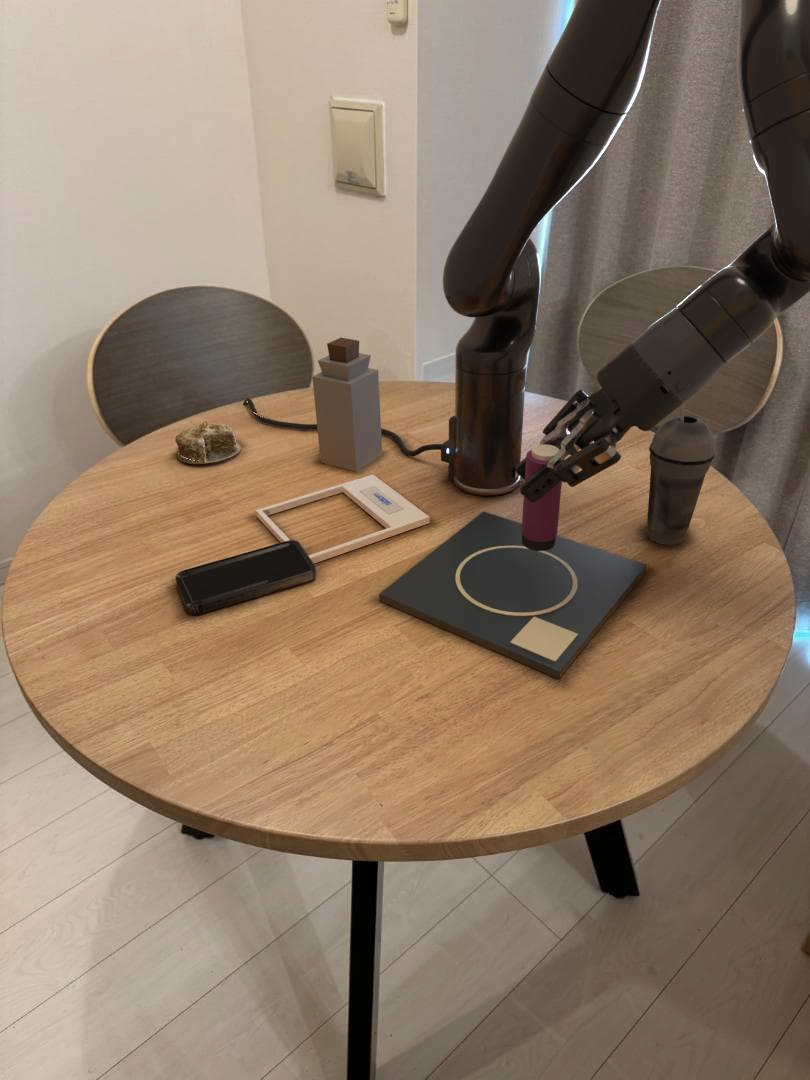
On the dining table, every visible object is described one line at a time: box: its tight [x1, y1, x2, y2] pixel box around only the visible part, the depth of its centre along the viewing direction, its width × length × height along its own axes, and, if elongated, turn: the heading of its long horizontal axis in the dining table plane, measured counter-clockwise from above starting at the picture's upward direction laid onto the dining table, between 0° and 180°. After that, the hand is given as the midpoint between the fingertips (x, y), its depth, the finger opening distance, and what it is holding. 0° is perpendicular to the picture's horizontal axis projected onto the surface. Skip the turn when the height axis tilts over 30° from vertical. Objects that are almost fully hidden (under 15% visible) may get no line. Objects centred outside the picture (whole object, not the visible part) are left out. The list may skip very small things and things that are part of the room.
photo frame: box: [255, 474, 431, 564], centre depth 97 cm, size 15×1×18 cm
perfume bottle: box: [311, 337, 383, 473], centre depth 108 cm, size 7×7×18 cm
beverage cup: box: [646, 401, 715, 546], centre depth 86 cm, size 7×7×20 cm
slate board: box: [378, 511, 648, 680], centre depth 83 cm, size 22×22×1 cm
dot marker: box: [521, 444, 563, 551], centre depth 77 cm, size 4×4×11 cm
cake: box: [174, 421, 242, 465], centre depth 115 cm, size 10×10×5 cm
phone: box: [174, 539, 317, 616], centre depth 85 cm, size 8×1×15 cm
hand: (523, 485), depth 76 cm, fingers closed on dot marker, 3 cm apart
